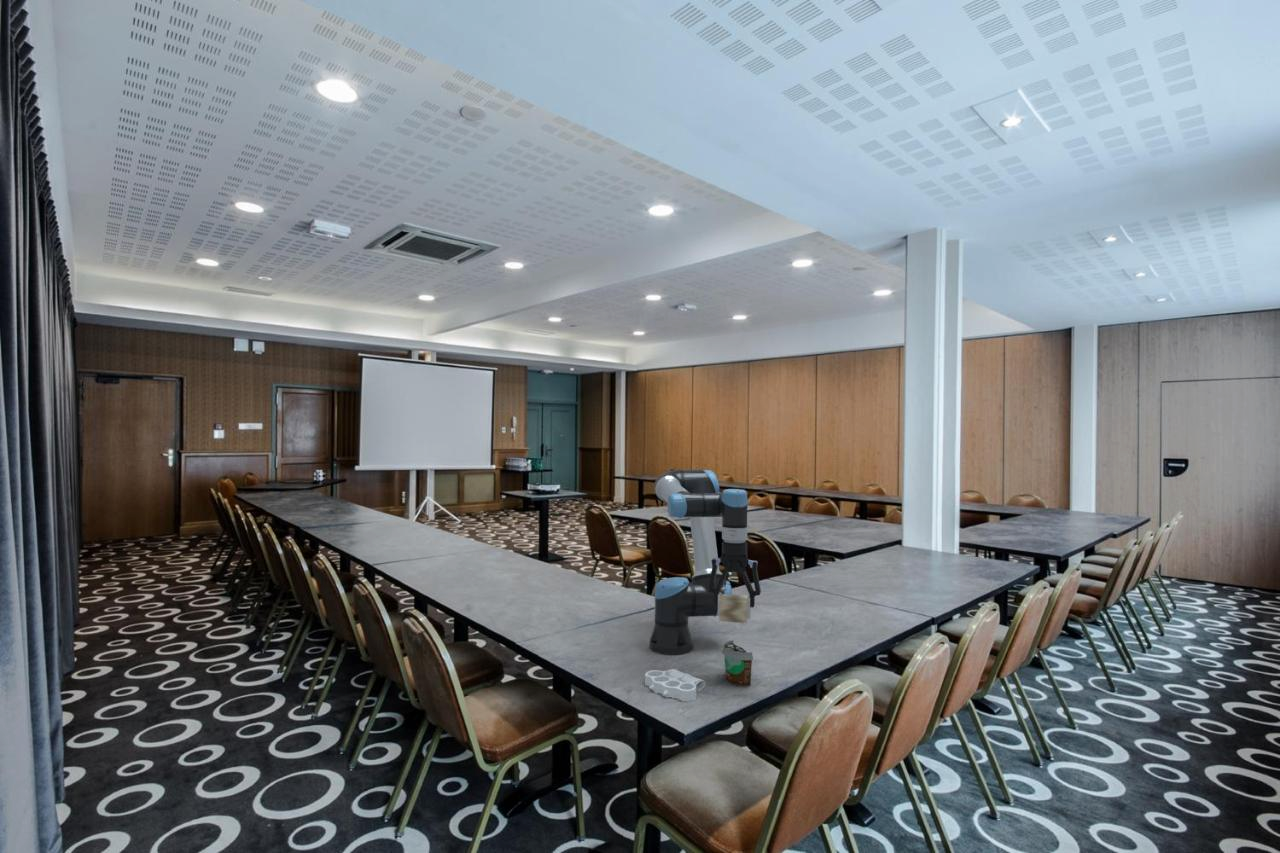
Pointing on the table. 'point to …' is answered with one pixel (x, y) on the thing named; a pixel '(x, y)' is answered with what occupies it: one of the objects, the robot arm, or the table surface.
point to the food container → (737, 664)
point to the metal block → (733, 608)
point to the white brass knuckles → (674, 684)
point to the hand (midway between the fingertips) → (734, 616)
